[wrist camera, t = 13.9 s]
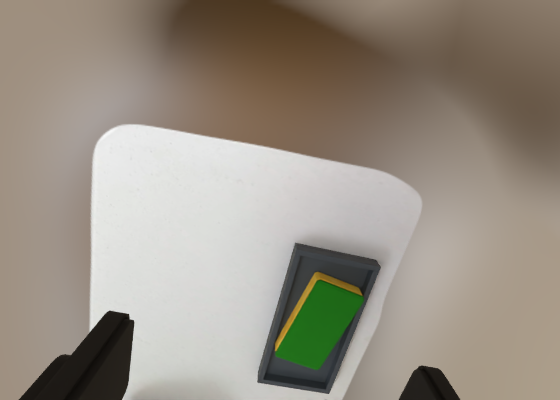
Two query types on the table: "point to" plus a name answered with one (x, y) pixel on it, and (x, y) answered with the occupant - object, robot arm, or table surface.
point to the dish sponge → (318, 321)
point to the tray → (296, 281)
